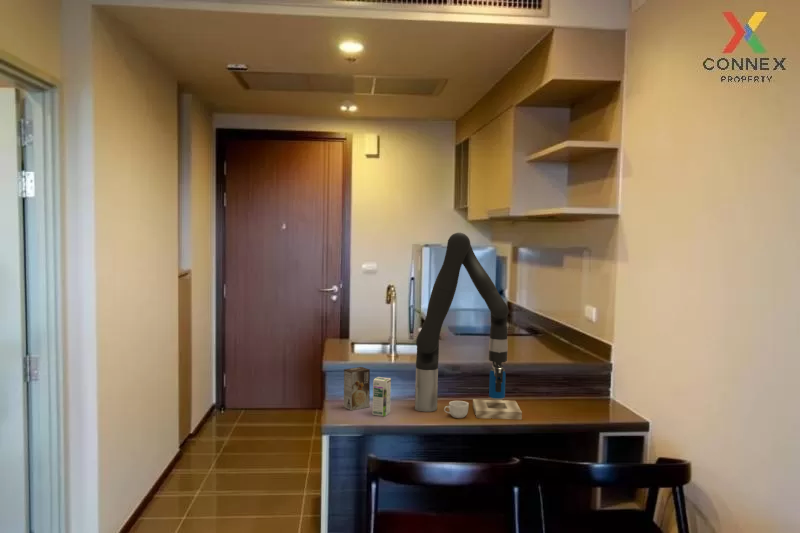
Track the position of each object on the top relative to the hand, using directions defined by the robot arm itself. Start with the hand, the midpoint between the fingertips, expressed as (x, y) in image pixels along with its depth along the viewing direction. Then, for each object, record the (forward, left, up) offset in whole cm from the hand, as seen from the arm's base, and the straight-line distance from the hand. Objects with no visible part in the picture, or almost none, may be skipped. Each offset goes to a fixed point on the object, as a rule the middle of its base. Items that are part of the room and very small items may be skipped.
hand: (497, 389), depth 238 cm
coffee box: (-58, +1, -10) cm, 59 cm away
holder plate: (0, 0, -10) cm, 10 cm away
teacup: (-17, -7, -10) cm, 21 cm away
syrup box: (-47, -7, -10) cm, 49 cm away
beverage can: (0, 0, -4) cm, 4 cm away
